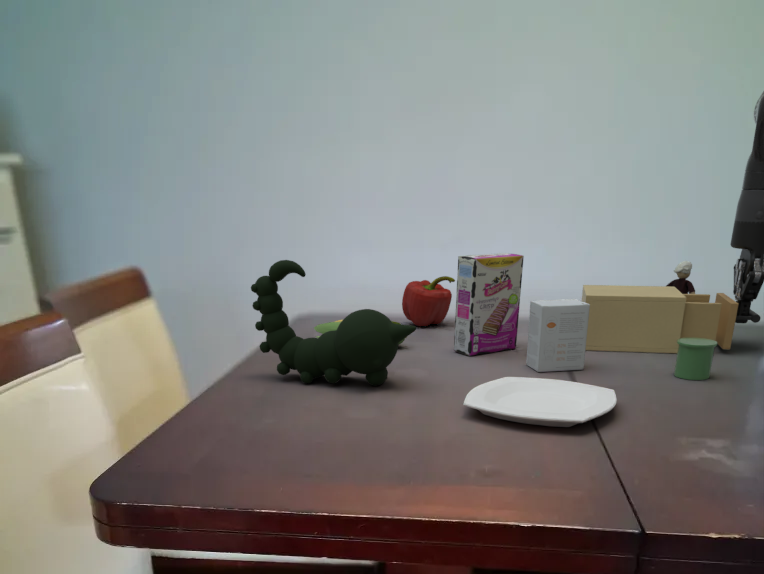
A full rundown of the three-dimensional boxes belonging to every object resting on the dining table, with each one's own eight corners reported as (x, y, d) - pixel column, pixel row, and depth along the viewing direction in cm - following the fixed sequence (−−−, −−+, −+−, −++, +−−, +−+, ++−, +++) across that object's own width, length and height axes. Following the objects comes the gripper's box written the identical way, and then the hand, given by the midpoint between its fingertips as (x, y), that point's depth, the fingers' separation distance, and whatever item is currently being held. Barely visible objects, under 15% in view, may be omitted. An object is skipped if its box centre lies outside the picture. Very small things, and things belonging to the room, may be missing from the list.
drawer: (742, 336, 139) (750, 293, 136) (759, 350, 128) (768, 304, 125) (630, 332, 143) (635, 291, 140) (637, 346, 132) (643, 301, 129)
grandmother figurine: (697, 325, 154) (707, 261, 149) (689, 327, 152) (699, 262, 146) (661, 320, 159) (670, 258, 154) (653, 323, 157) (662, 260, 151)
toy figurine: (256, 394, 115) (411, 392, 106) (235, 266, 107) (400, 253, 99) (283, 379, 123) (428, 376, 114) (265, 259, 115) (419, 247, 107)
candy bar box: (470, 357, 129) (474, 258, 122) (452, 352, 133) (455, 255, 126) (518, 349, 135) (525, 254, 128) (500, 344, 138) (505, 251, 132)
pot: (707, 372, 118) (713, 338, 116) (714, 381, 113) (721, 345, 111) (669, 370, 119) (674, 337, 117) (674, 379, 114) (680, 344, 112)
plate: (592, 442, 88) (594, 426, 87) (444, 419, 97) (444, 404, 96) (629, 401, 103) (630, 388, 102) (498, 385, 112) (499, 372, 111)
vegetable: (456, 321, 160) (458, 273, 156) (449, 330, 151) (451, 279, 147) (407, 319, 163) (407, 272, 159) (397, 328, 154) (397, 278, 149)
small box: (570, 362, 125) (576, 298, 121) (584, 370, 120) (591, 303, 116) (524, 364, 124) (529, 299, 119) (537, 372, 119) (542, 305, 114)
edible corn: (399, 351, 134) (399, 326, 132) (307, 341, 143) (306, 317, 141) (412, 346, 138) (412, 321, 136) (322, 336, 147) (321, 313, 145)
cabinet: (666, 338, 143) (674, 286, 139) (677, 353, 130) (686, 297, 126) (578, 335, 146) (583, 284, 142) (580, 350, 134) (586, 295, 130)
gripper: (794, 220, 119) (772, 330, 126) (772, 216, 131) (753, 316, 138) (744, 220, 120) (725, 328, 127) (727, 216, 132) (710, 315, 139)
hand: (739, 322), depth 133 cm, fingers closed
